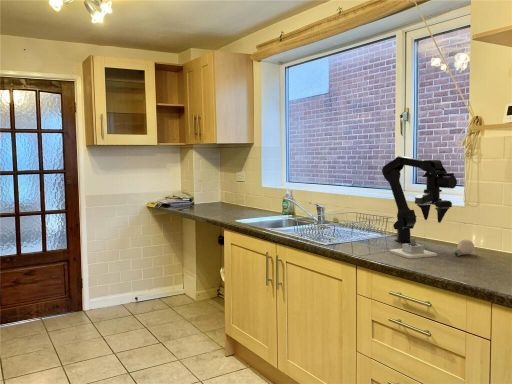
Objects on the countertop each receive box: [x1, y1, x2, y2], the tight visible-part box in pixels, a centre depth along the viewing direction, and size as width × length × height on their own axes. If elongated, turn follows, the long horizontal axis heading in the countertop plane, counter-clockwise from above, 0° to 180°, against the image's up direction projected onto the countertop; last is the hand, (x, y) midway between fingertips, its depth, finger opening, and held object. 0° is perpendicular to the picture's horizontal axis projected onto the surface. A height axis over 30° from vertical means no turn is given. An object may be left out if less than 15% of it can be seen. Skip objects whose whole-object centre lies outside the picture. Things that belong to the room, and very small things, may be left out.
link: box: [401, 242, 425, 254], centre depth 200 cm, size 6×6×3 cm
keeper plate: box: [388, 238, 438, 259], centre depth 199 cm, size 14×14×6 cm
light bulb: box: [453, 238, 475, 257], centre depth 196 cm, size 7×7×11 cm
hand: (432, 221), depth 212 cm, fingers open, 9 cm apart
